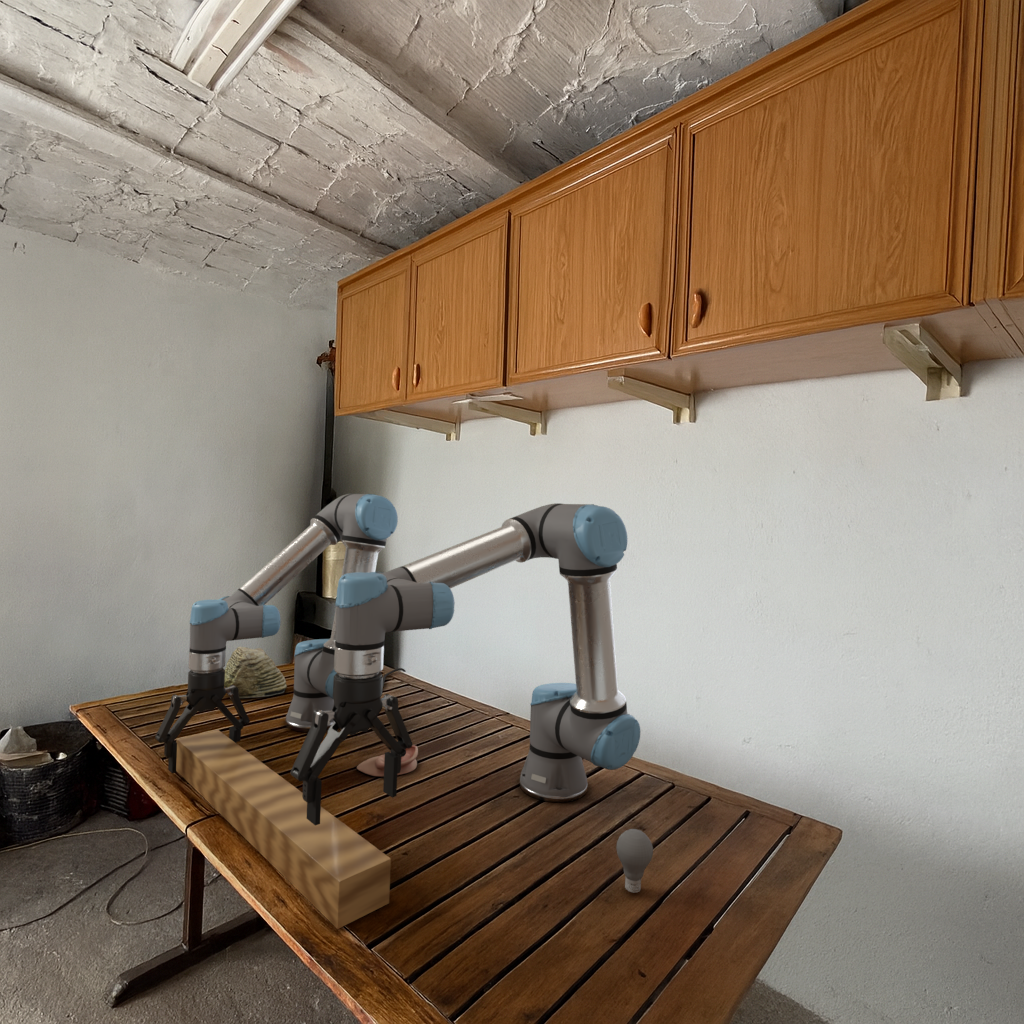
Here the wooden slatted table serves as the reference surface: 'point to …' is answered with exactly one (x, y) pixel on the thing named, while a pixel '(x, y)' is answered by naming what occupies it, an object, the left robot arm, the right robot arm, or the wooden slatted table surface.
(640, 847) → the light bulb
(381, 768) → the anatomical model
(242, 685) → the fossil
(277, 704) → the wooden slatted table surface
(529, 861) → the wooden slatted table surface
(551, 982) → the wooden slatted table surface
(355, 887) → the long beam
